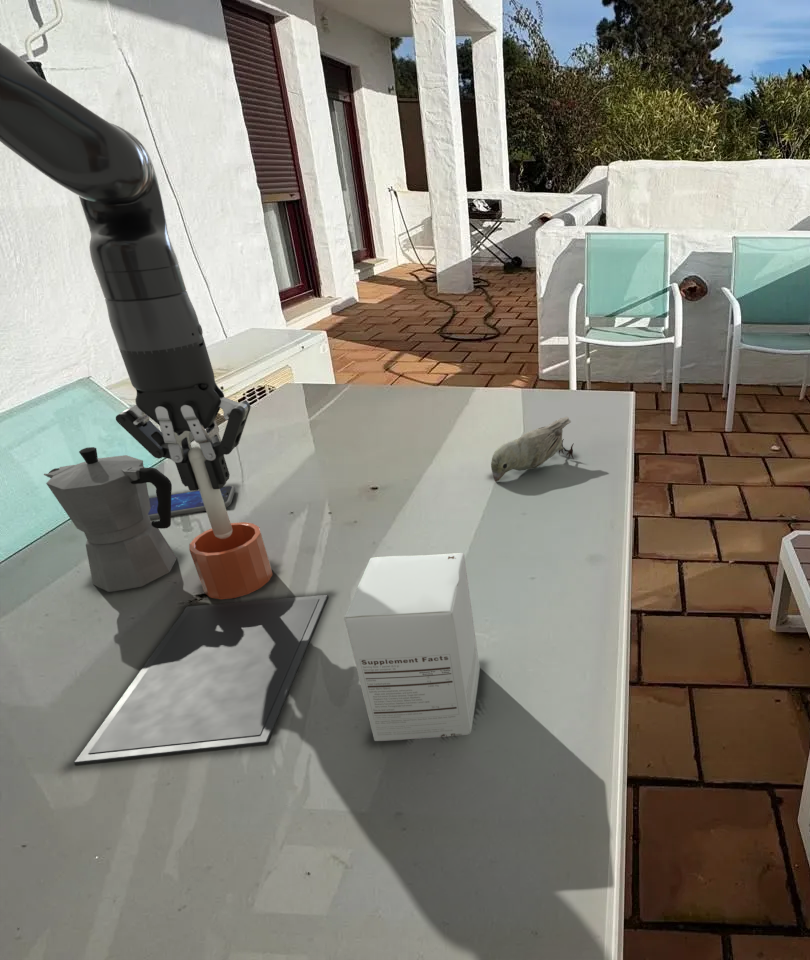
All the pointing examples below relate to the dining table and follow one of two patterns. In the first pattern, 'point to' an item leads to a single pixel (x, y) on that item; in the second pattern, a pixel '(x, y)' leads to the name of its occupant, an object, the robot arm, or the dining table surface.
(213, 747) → the tablet
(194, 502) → the smartphone
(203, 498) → the off-white long cylinder
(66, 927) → the dining table surface
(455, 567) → the rectangular carton
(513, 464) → the decorative bird
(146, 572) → the coffeepot
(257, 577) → the pen pot
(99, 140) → the robot arm
